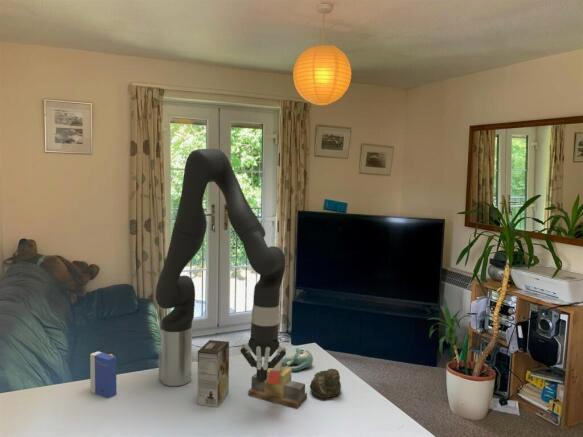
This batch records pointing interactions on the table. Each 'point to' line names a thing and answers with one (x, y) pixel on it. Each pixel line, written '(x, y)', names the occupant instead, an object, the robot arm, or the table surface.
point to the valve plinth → (279, 389)
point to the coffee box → (213, 373)
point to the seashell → (326, 383)
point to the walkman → (103, 374)
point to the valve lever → (275, 374)
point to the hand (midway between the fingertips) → (261, 381)
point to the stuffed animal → (299, 360)
